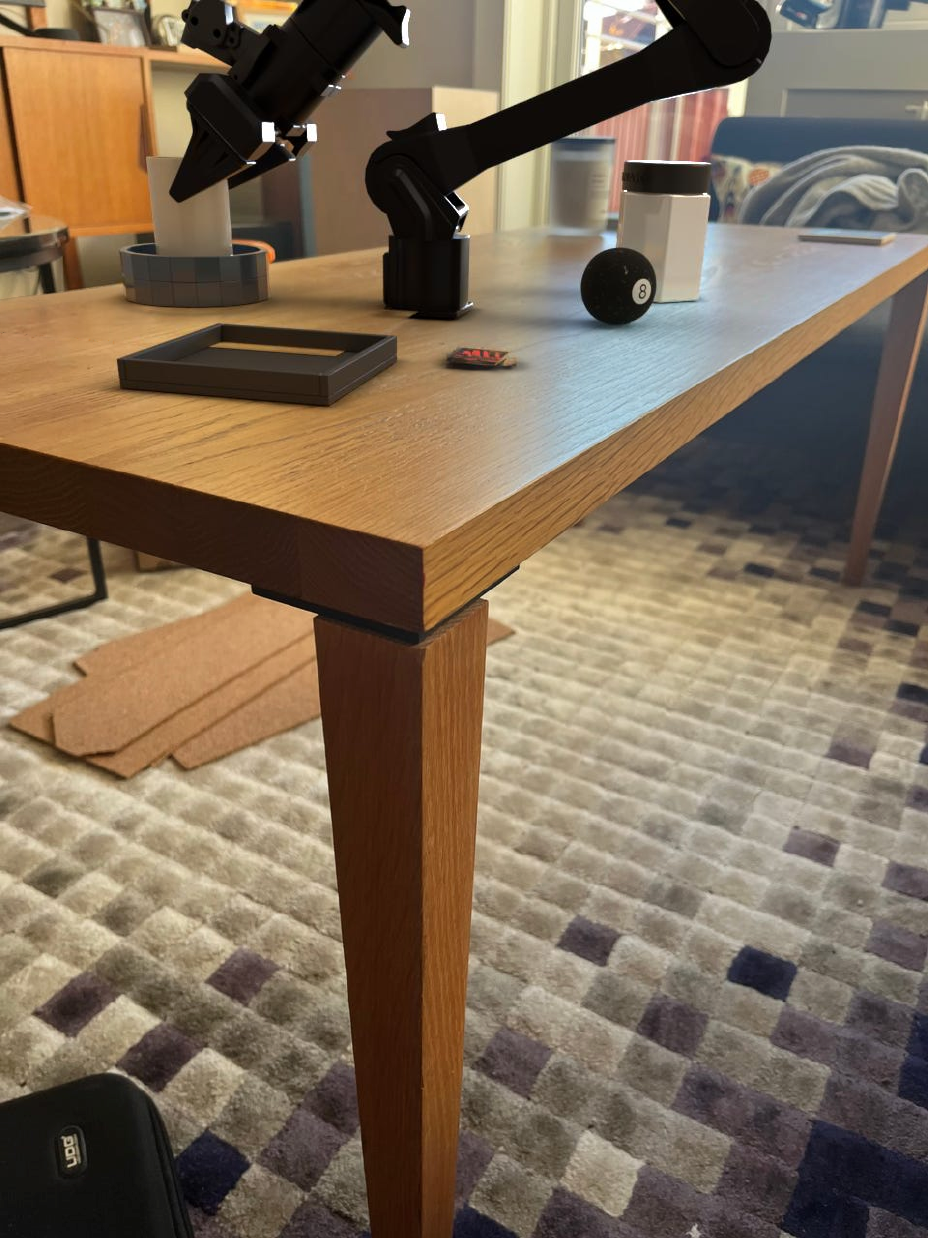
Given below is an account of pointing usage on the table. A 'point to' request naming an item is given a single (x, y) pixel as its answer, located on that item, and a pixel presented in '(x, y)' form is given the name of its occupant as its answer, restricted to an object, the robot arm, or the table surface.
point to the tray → (259, 364)
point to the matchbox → (480, 356)
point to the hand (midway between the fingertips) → (193, 195)
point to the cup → (188, 214)
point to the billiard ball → (618, 286)
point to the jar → (667, 222)
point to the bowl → (195, 277)
